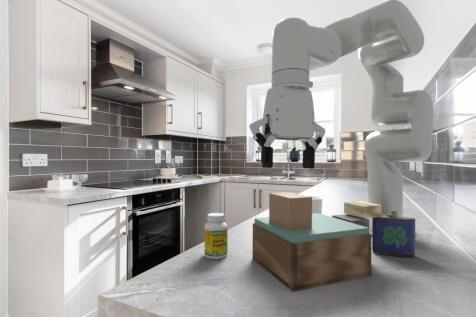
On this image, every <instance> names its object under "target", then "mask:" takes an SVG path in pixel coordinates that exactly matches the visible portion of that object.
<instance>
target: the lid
mask: <svg viewBox="0 0 476 317" xmlns="http://www.w3.org/2000/svg"><path fill="white" fill-rule="evenodd" d="M268 195H269V198H268V199H269V201H268V202H269V203H268V204H269V206H268V215H269V216H266V217H265V216H264V217H255V218H254V224H256V225H258V226H260V227H262V228H264V229H266V230H268V231H270V232H272V233H274V234H275V235H277V236H279V237H281V238H283V239H285V240H287V241H289V242H291V243H293V244H295V243H303V242H310V241H318V240H326V239H334V238H342V237H349V236H357V235H365V234H369V228H368V227H364V226H361V225H358V224H354V223H351V222H347V221H344V220H340V219H337V218H333V217H332V216H329V215H325V214H323V213H321V214H319V213H313V214H312V197H310V196H311V195H304V194H299V193H295V192H294V193H293V192H291V191H290V192H285V191H284V192H269V193H268Z"/></svg>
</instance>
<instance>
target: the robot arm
mask: <svg viewBox="0 0 476 317" xmlns="http://www.w3.org/2000/svg"><path fill="white" fill-rule="evenodd" d="M271 44H272V46H271V48H272V51H271V52H272V53H271V54H272V55H271V88H268V90H267V92H266V96H265V100H264V101H265V102H264V107H263V111H262V112H263V114H262V118H260V119H258V120H256V121H254V122H251V123H250V124H249V126H248V127H249V129H250V132H251V134H252V135H253V139H254V140H255V141H256V143H258V146H259V148H260V163H261V166H262V169H263V168H264V169H273V167H274V148H273V147H272V144H273V143H274V142H275V140H278V141H300V142H301V144H302V145H303V147H304V148H305V149H303V150H302V168H303V169H311V170H313V169H314V168H315V164H316V161H315V160H316V150H317V149H318V148H319V145H320V144H321V143H322V142H323V138H324V136H325V134H326V129H325V128H324V127H322V126H321V125H320V124H318V122H315V121H316V119H315V106H314V99H313V98H314V97H313V94H312V90H310V89H311V88H313V86H314V83H313V81H310V71H313V70H318V69H319V68H323V67H326V66H330V65H331V64H334V63H335V62H337V61H338V60H339V59H340V58H342V57H345V56H347V55H350V54H352V53H354V52H356V51H358V58H359V61H360V63H361V64H362V66H363V67H364V69H365V71H366V72H367V74H368V76H369V78H370V80H371V86H372V87H371V90H372V92H371V112H370V115H371V121H372V123H373V124H374V125H376V126H379V127H393V126H406V125H409V126H410V128H401V129H396V128H395V129H382V130H378V131H373V132H370V133H369V134H368V135H367V136H366V138H365V139H364V142H363V143H364V144H363V145H364V152H365V153H364V154H365V158H366V164H367V166H366V168H367V203H373V204H378V205H381V214H390V213H391V212H392V210H397V211H398V212H397V214H398V216H397V217H404V215H403V214H404V212H403V211H404V206H403V205H404V202H403V201H404V177H403V173H402V171H401V170H400V169H399V168H398V166H397V165H396V164H395V162H396V163H397V162H398V163H399V162H407V163H408V162H409V163H410V162H423V161H427V160H428V159H429V158H430V157H431V155H432V151H433V139H434V138H433V137H434V136H433V134H434V132H433V131H434V103H433V100H432V96H431V95H430V94H429V92H427V91H426V90H422V89H421V90H420V89H419V90H417V89H416V90H411V91H404V82H405V81H404V76H403V75H402V74H401V73H400V71H399V70H398V69H396V68H395V67H393V66H392V65H391V63H393V62H396V61H401V60H405V59H409V58H412V57H415V56H416V55H418V54H420V53H421V52H422V50H423V49H424V47H425V46H424V45H425V35H424V32H423V29H422V27H421V26H420V24H419V22H418V20H416V18H415V16H414V15H413V14H412V12H411V11H410V9H409V8H408V7H407V5H405V4H404V3H403V2H402V1H401V0H387V1H385V2H382V3H380V4H378V5H375V6H373V7H370V8H368V9H366V10H364V11H361V12H358V13H355V14H353V15H350V16H347V17H344V18H342V19H339V20H337V21H334V22H332V23H331V24H328V25H326V26H325V27H323V26H317V25H312V24H309V23H308V21H307V20H305V19H303V18H300V17H287V18H284V19H281V20H280V21H278V22H276V24H275V25H274V27H273V31H272V43H271ZM260 128H261V130H260ZM384 216H387V215H384ZM366 219H369V234H371V236H372V218H366Z"/></svg>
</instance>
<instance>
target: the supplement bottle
mask: <svg viewBox="0 0 476 317" xmlns="http://www.w3.org/2000/svg"><path fill="white" fill-rule="evenodd" d="M206 215H207V218H206V220H207V222H206V223H205V224H204V256H205V258H207V259H210V260H222V259H224V258H227V256H228V252H229V251H228V249H229V247H228V241H229V240H228V238H229V237H228V231H229V229H228V224H227V223H226V222H225V220H226V216H225V213H222V212H210V213H207V214H206Z"/></svg>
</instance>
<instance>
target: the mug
mask: <svg viewBox="0 0 476 317" xmlns="http://www.w3.org/2000/svg"><path fill="white" fill-rule="evenodd" d="M309 196H310V197H312V214H313V213H319V214H323V213H322V211H323V210H322V209H323V197H321V196H318V195H309Z"/></svg>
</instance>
